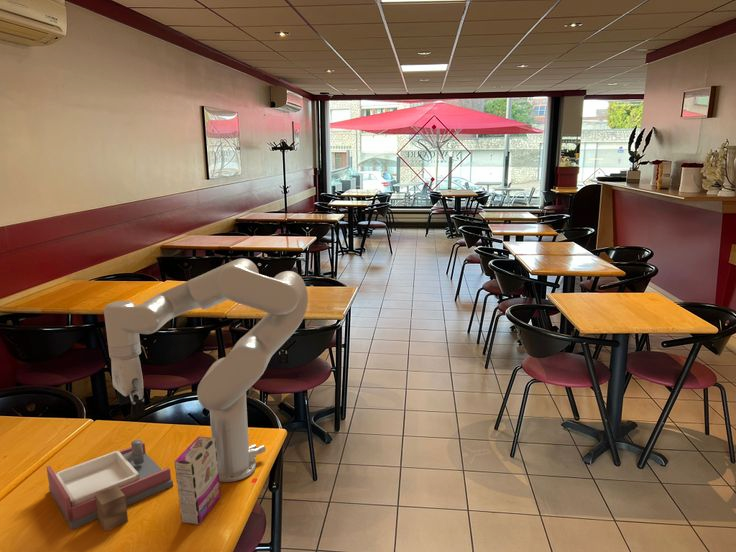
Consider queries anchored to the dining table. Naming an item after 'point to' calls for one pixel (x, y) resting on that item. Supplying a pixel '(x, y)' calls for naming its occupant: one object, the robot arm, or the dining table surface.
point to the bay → (146, 486)
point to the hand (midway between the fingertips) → (132, 409)
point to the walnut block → (111, 508)
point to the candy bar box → (197, 480)
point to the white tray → (101, 474)
